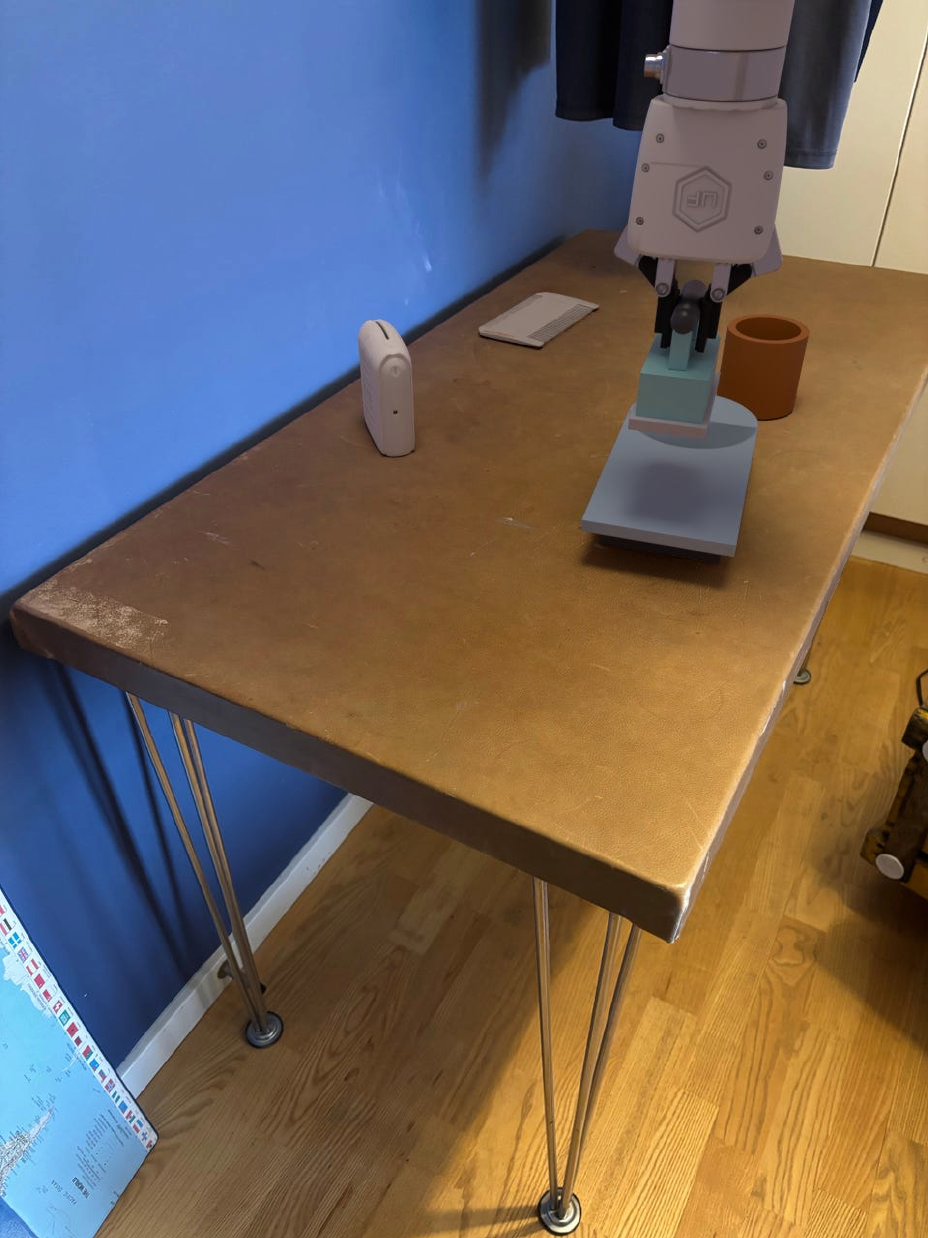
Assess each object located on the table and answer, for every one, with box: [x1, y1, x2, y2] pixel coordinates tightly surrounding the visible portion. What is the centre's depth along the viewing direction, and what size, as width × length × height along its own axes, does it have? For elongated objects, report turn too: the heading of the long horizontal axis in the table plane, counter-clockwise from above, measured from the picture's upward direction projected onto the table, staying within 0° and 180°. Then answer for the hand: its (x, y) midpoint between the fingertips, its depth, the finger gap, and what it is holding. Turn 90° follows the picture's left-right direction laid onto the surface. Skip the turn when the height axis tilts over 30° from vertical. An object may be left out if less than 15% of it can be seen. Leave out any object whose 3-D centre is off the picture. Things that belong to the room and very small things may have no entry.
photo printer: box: [357, 318, 416, 457], centre depth 97 cm, size 10×4×12 cm, turn 17°
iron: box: [628, 279, 722, 439], centre depth 73 cm, size 12×6×9 cm, turn 162°
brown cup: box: [716, 314, 811, 420], centre depth 105 cm, size 9×12×9 cm
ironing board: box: [580, 395, 759, 565], centre depth 89 cm, size 13×28×5 cm, turn 161°
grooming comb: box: [478, 291, 601, 348], centre depth 127 cm, size 18×10×1 cm, turn 147°
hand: (684, 342), depth 72 cm, fingers closed on iron
